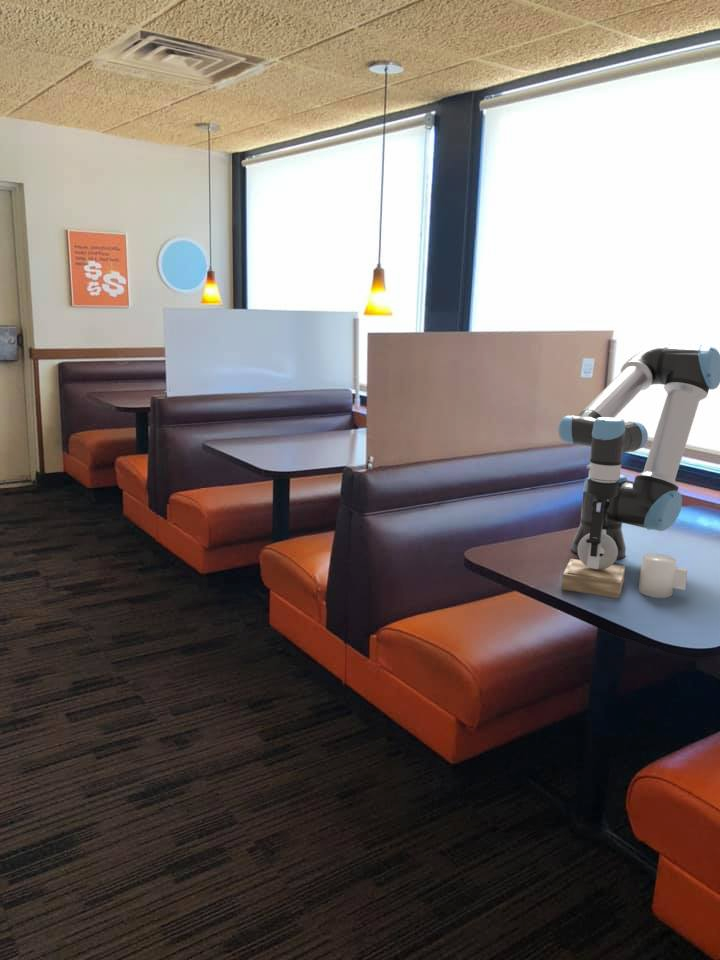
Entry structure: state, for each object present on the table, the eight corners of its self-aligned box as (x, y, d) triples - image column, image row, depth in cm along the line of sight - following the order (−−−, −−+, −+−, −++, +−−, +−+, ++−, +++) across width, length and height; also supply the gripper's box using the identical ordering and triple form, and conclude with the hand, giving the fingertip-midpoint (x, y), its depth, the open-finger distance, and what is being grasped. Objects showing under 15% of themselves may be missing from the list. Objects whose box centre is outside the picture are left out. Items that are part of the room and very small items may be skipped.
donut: (574, 568, 196) (578, 531, 194) (576, 564, 200) (580, 527, 197) (615, 574, 193) (619, 536, 190) (616, 570, 196) (620, 533, 194)
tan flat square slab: (569, 572, 206) (570, 557, 205) (623, 580, 201) (625, 565, 200) (561, 589, 194) (562, 573, 193) (619, 598, 188) (620, 581, 187)
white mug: (639, 584, 199) (643, 551, 197) (684, 591, 194) (688, 557, 193) (637, 594, 191) (641, 560, 189) (684, 602, 187) (688, 567, 185)
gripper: (593, 469, 204) (586, 545, 208) (581, 487, 181) (573, 572, 186) (623, 472, 201) (615, 549, 206) (614, 491, 179) (605, 577, 183)
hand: (595, 560), depth 196 cm, fingers open, 13 cm apart
